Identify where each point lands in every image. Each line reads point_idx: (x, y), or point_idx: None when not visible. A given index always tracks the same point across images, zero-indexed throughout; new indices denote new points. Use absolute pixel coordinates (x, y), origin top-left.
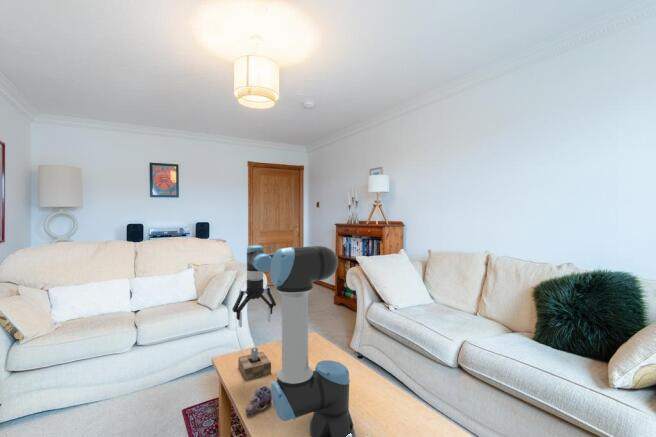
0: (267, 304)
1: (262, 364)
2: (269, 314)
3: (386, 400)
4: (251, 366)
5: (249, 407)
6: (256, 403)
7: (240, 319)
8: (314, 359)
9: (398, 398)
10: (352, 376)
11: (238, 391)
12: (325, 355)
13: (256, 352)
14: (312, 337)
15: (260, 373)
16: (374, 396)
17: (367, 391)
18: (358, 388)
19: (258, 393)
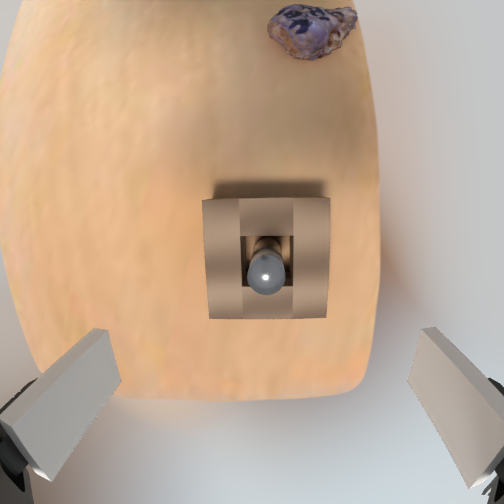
0: (19, 495)
1: (244, 200)
2: (55, 373)
3: (41, 6)
4: (298, 206)
5: (349, 11)
6: (327, 9)
7: (478, 373)
8: (53, 222)
9: (26, 12)
10: (25, 93)
11: (358, 137)
12: (26, 231)
13: (260, 256)
14: (41, 355)
15: (256, 197)
16: (45, 17)
17: (42, 32)
18: (45, 43)
19: (319, 15)
